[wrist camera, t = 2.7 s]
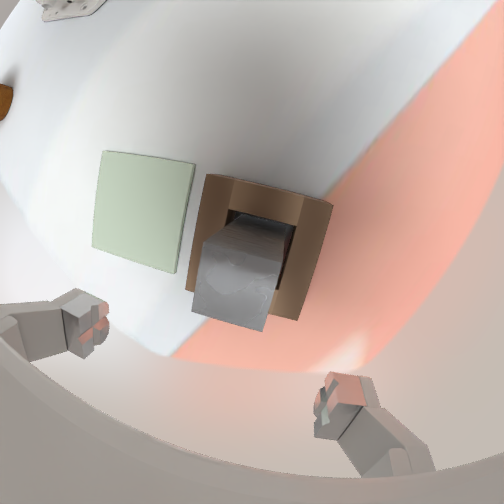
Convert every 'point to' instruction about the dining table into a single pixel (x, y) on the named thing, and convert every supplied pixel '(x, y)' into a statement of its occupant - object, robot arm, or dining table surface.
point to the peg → (240, 271)
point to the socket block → (275, 208)
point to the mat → (141, 208)
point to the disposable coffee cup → (5, 100)
